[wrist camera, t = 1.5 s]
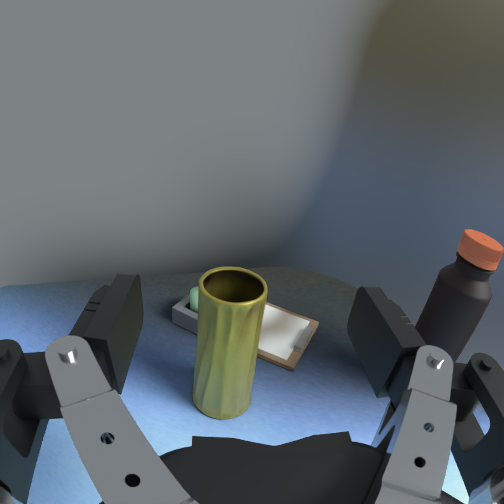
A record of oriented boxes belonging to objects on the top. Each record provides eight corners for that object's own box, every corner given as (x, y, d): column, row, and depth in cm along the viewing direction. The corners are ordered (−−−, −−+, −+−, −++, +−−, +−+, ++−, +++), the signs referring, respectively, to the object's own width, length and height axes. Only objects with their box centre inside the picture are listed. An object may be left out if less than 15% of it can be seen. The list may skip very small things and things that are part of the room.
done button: (186, 313, 40) (186, 292, 38) (197, 304, 42) (197, 284, 40) (201, 320, 39) (202, 300, 37) (211, 311, 41) (213, 291, 39)
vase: (208, 367, 34) (215, 256, 27) (259, 387, 32) (283, 276, 26) (181, 405, 28) (177, 290, 22) (237, 429, 27) (257, 319, 20)
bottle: (401, 356, 38) (460, 220, 29) (440, 378, 34) (510, 245, 25) (381, 383, 33) (451, 232, 24) (425, 409, 29) (512, 262, 20)
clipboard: (218, 338, 38) (219, 330, 38) (254, 301, 46) (255, 293, 46) (292, 371, 35) (295, 363, 34) (318, 325, 43) (320, 317, 42)
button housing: (172, 322, 40) (171, 307, 39) (194, 304, 44) (194, 289, 43) (204, 338, 38) (204, 323, 37) (224, 318, 42) (226, 303, 41)
